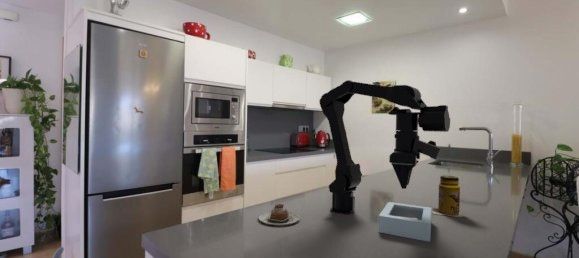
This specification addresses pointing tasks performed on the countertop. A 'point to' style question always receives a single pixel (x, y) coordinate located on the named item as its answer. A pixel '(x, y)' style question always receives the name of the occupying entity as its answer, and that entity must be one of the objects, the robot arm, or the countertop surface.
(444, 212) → the condiment
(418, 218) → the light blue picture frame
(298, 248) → the countertop surface
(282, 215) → the pastry
